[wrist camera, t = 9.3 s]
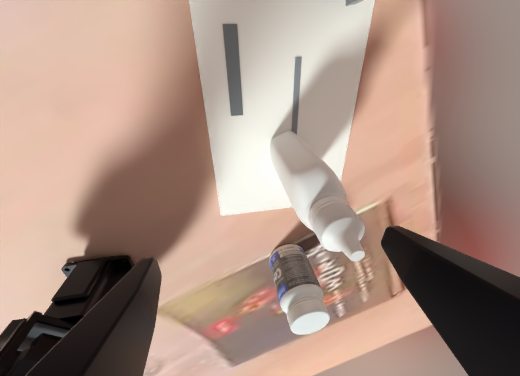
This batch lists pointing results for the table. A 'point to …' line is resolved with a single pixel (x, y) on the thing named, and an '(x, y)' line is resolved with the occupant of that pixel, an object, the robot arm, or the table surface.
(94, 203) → the table surface
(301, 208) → the white plastic bottle
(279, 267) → the pill bottle
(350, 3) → the gray rectangular block
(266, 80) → the paper sheet
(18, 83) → the table surface
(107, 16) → the table surface
